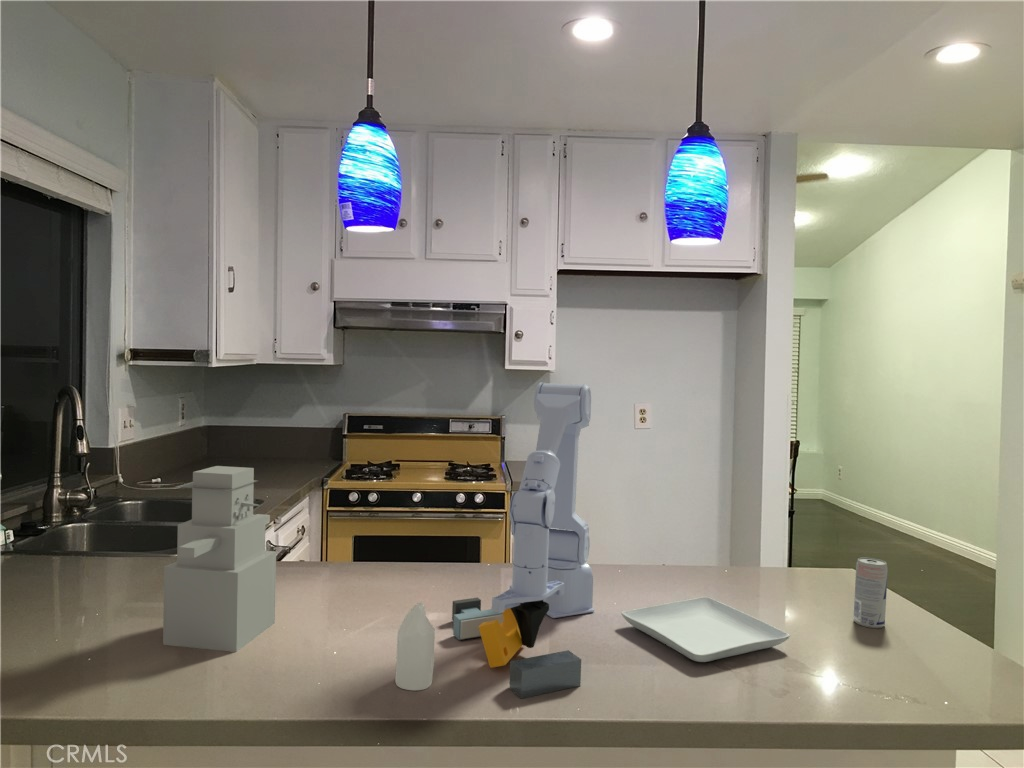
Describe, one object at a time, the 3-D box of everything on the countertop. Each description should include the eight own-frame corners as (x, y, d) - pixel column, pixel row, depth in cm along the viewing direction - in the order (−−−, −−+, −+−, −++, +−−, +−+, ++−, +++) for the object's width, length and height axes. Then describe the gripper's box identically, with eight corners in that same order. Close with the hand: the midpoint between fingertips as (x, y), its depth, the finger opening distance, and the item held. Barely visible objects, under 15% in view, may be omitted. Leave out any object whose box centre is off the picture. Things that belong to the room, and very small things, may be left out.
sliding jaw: (489, 614, 135) (489, 595, 135) (512, 632, 127) (513, 612, 126) (439, 621, 130) (439, 602, 130) (460, 640, 122) (460, 620, 122)
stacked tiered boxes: (139, 659, 112) (141, 479, 111) (223, 607, 135) (225, 458, 134) (216, 667, 110) (219, 484, 109) (288, 613, 133) (291, 462, 132)
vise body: (566, 674, 111) (567, 649, 111) (580, 685, 107) (581, 659, 107) (508, 686, 106) (509, 660, 106) (521, 698, 103) (521, 671, 102)
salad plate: (697, 675, 113) (698, 653, 113) (617, 628, 132) (618, 609, 132) (793, 653, 123) (794, 633, 122) (706, 612, 141) (706, 595, 141)
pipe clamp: (506, 641, 123) (495, 604, 123) (529, 636, 122) (518, 599, 122) (480, 669, 112) (468, 628, 112) (505, 665, 110) (493, 623, 111)
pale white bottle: (390, 598, 107) (425, 593, 110) (389, 678, 108) (423, 670, 111) (407, 611, 102) (443, 605, 105) (405, 694, 103) (440, 685, 106)
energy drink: (884, 621, 138) (887, 559, 138) (885, 630, 133) (888, 566, 133) (853, 616, 141) (856, 555, 140) (853, 625, 136) (856, 562, 135)
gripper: (544, 551, 125) (542, 628, 126) (480, 565, 115) (477, 649, 116) (574, 560, 120) (571, 640, 120) (510, 576, 110) (507, 663, 111)
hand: (527, 645), depth 118 cm, fingers closed, pressing on pipe clamp
